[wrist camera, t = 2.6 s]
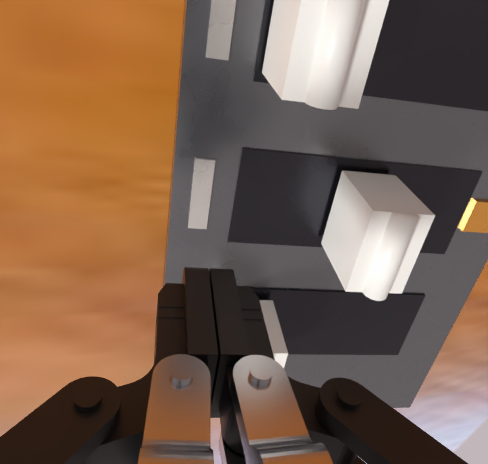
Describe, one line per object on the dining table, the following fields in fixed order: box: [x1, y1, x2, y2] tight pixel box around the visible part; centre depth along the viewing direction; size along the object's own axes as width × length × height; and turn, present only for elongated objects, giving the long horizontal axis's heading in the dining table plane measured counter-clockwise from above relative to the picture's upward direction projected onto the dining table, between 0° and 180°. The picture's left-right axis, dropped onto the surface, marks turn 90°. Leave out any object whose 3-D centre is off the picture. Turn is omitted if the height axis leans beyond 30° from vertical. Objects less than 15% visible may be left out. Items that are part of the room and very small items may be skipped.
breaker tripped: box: [321, 170, 435, 301], centre depth 18 cm, size 4×2×4 cm, turn 171°
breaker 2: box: [262, 0, 389, 110], centre depth 14 cm, size 4×2×4 cm, turn 171°
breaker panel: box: [163, 0, 488, 408], centre depth 21 cm, size 28×16×2 cm, turn 171°
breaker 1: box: [259, 300, 288, 368], centre depth 21 cm, size 4×2×4 cm, turn 171°
